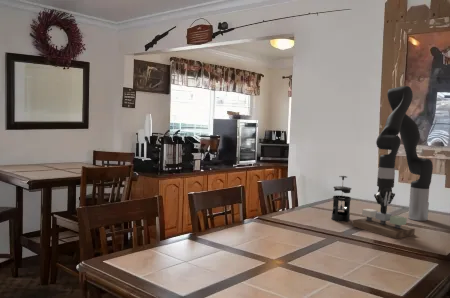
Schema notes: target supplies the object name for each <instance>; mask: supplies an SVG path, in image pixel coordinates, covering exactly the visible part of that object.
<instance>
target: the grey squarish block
mask: <svg viewBox="0 0 450 298" xmlns="http://www.w3.org/2000/svg"><path fill="white" fill-rule="evenodd" d="M390 216H393V215H392V213H391V212H390V213H389V212H386V213H385V214H383V213H381V211H379V212H378V211H377V212H376V217H374V218H375V219H378V220H381V221H380V225H386V221H387V222H390Z"/></svg>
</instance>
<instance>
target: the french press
mask: <svg viewBox="0 0 450 298" xmlns="http://www.w3.org/2000/svg"><path fill="white" fill-rule="evenodd" d="M339 178H341V179H342V183H341V185H342V186H341V185H340V186H337V185H336V186H333V188H334V190H333V191H334V192H336V191H338V192H339V191H340V192H341V195H332V199H333V203H332V204H333V205H332V206H333V207H332V212H331V217H330V218H331V221H333V222H334V221H335V222H339V223H347V222H350V221H351V219H350V216H351V214H350V210H351V200H352V198H351V196H348V195H347V196H346V195H343V194H350V193H351V190H352V187H347V186H344V180H345V179H346V178H347V176H346V175H339ZM339 201H340V202H341V203H340V205H339ZM343 202H344V204H343ZM343 205H344V206H343Z"/></svg>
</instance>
